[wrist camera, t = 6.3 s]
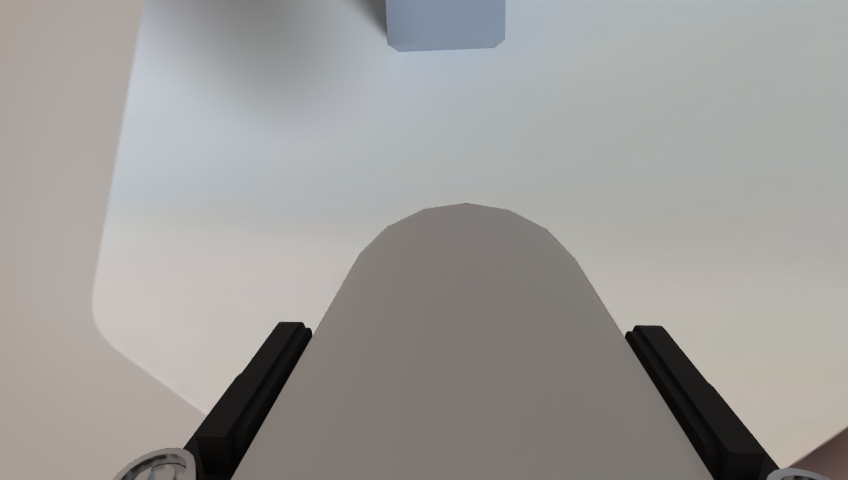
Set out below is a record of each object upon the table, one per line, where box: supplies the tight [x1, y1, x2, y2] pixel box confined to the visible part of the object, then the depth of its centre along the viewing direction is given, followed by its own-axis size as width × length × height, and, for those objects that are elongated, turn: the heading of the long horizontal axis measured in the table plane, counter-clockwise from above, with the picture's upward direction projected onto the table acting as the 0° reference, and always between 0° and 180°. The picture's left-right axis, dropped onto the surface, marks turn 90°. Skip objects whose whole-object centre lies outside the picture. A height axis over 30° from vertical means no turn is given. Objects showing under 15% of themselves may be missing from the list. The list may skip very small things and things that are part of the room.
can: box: [231, 203, 714, 480], centre depth 9 cm, size 8×8×12 cm
